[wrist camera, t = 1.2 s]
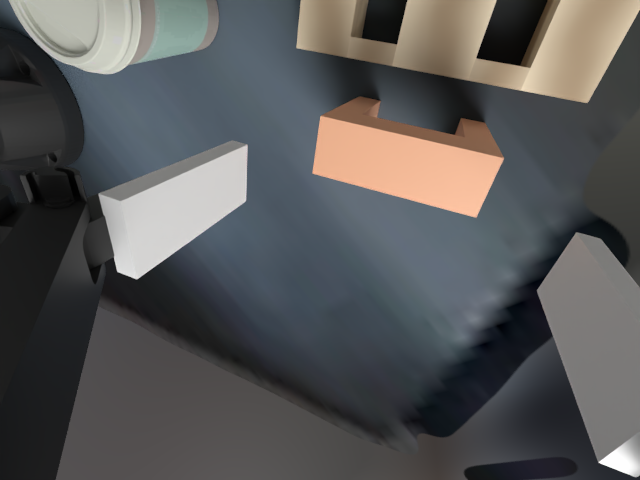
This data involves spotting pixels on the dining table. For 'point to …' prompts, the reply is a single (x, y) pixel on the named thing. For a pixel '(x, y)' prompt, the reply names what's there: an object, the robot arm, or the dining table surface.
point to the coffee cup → (117, 29)
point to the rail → (479, 41)
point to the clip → (407, 157)
